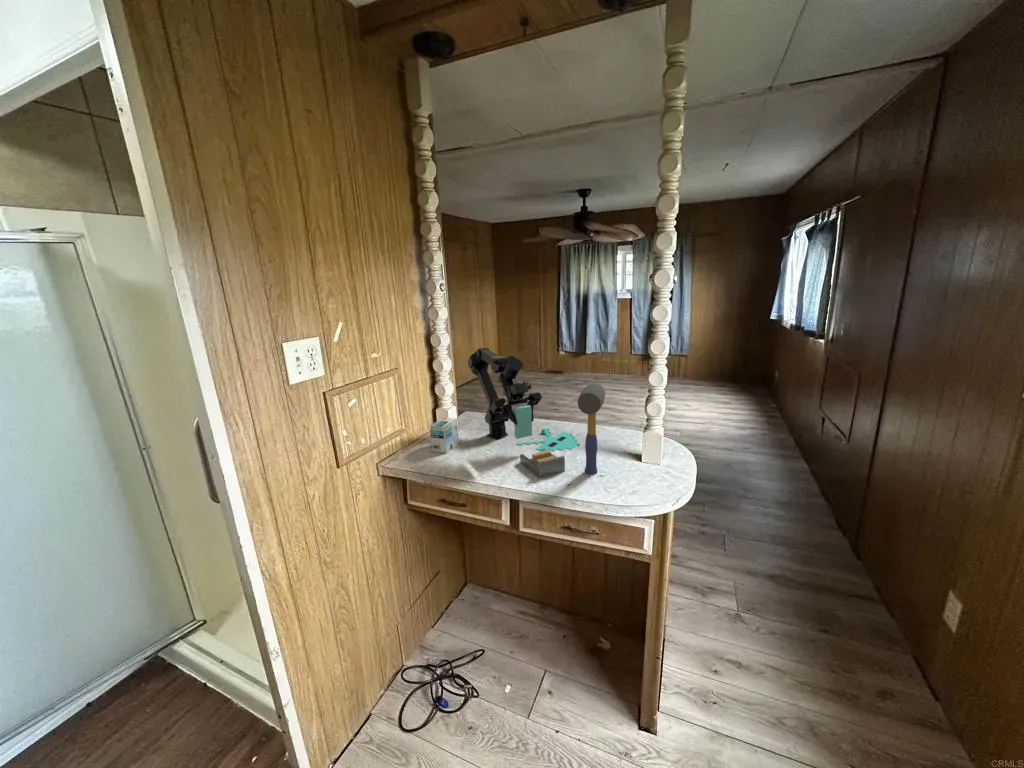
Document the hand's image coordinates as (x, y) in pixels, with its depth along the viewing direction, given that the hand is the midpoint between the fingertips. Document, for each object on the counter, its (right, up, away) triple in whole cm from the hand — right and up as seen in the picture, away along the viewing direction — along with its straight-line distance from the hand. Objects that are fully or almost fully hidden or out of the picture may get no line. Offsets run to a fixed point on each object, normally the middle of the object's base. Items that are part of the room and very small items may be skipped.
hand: (524, 422), depth 139 cm
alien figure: (+11, -11, +14) cm, 21 cm away
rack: (+5, -15, -6) cm, 17 cm away
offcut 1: (+6, -14, -7) cm, 17 cm away
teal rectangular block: (0, -5, +3) cm, 6 cm away
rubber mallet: (+21, -16, -12) cm, 29 cm away
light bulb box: (-31, -11, +16) cm, 36 cm away
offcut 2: (+7, -15, -10) cm, 19 cm away
